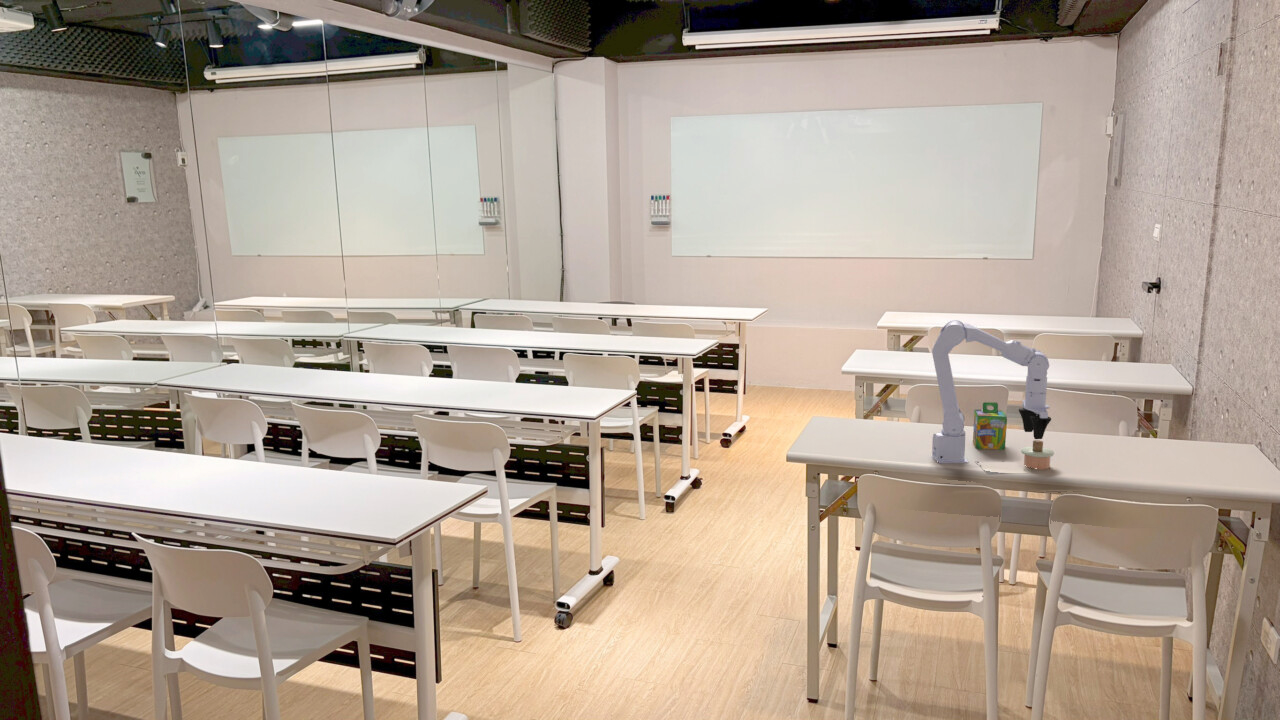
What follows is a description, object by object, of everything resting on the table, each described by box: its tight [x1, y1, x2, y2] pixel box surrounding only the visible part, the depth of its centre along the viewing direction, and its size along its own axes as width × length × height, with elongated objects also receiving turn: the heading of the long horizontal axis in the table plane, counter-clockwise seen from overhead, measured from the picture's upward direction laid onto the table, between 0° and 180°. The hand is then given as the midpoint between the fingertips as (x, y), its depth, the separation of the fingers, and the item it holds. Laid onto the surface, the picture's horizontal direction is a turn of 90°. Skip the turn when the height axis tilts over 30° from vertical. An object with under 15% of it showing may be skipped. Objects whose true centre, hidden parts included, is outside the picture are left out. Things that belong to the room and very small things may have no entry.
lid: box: [1020, 439, 1055, 458], centre depth 260 cm, size 9×9×4 cm
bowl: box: [1023, 454, 1051, 470], centre depth 261 cm, size 7×7×4 cm
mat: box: [976, 461, 1007, 475], centre depth 261 cm, size 12×12×1 cm
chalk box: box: [972, 401, 1008, 451], centre depth 282 cm, size 9×9×15 cm
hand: (1033, 435), depth 261 cm, fingers open, 7 cm apart
